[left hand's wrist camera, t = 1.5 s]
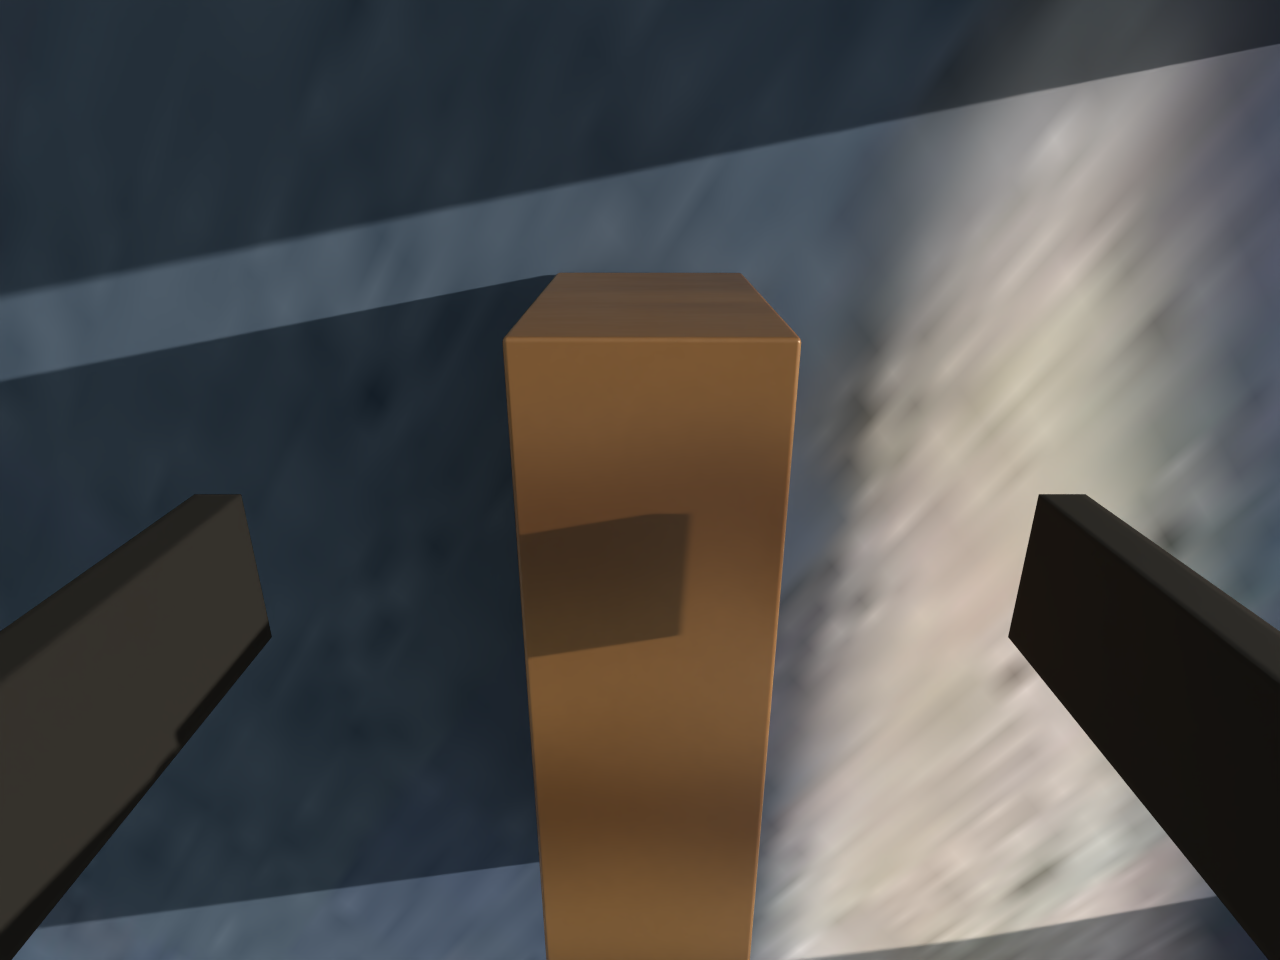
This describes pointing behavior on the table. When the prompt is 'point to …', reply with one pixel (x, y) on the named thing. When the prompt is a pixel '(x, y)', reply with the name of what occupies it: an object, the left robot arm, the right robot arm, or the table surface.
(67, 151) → the table surface
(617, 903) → the bar
